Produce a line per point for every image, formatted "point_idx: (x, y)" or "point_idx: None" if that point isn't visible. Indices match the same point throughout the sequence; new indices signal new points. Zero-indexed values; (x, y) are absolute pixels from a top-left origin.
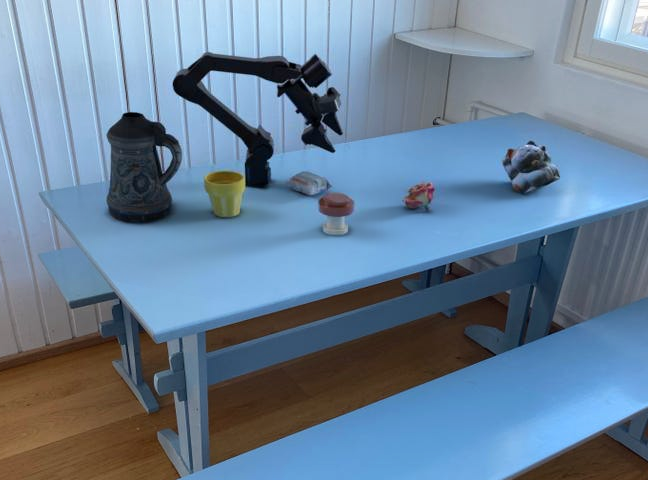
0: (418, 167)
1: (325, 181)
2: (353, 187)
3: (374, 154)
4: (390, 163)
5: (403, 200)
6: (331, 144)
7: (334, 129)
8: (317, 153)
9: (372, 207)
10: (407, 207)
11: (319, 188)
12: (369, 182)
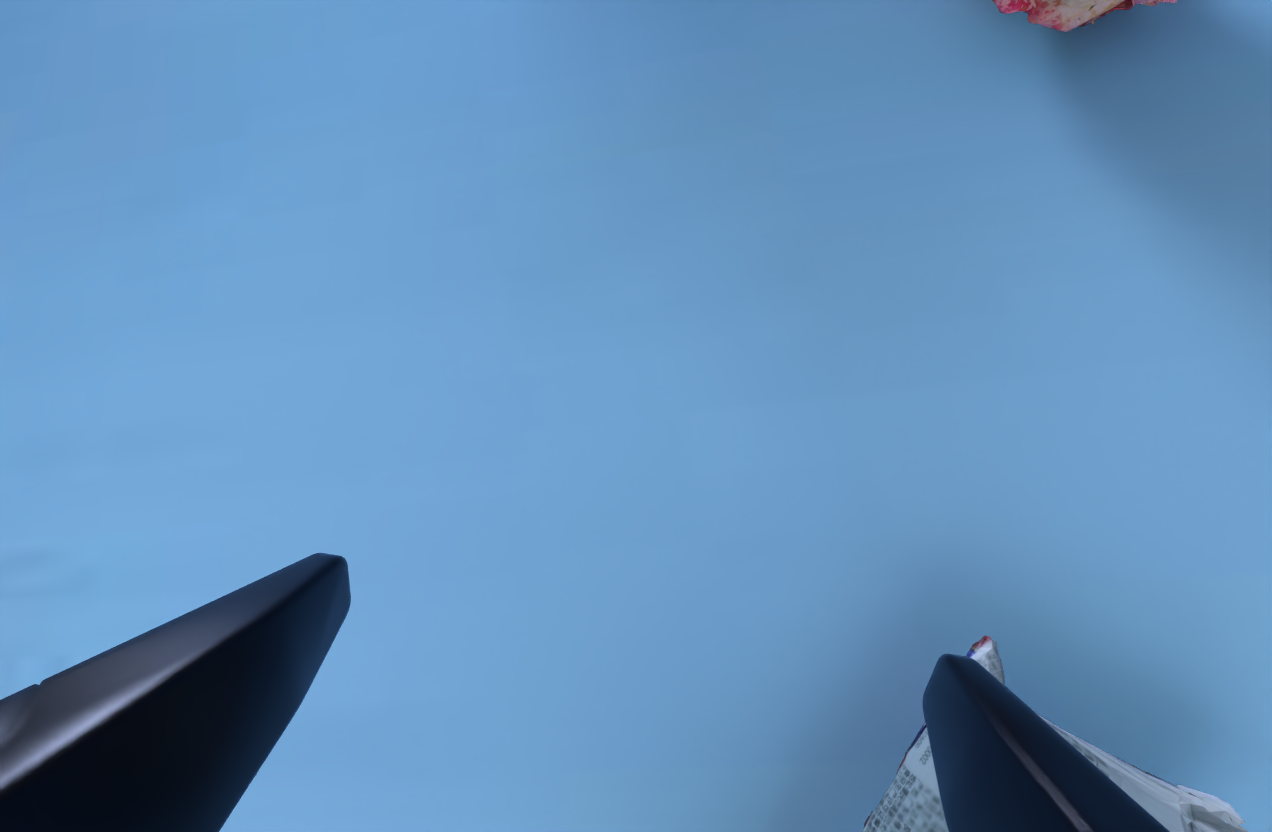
0: (348, 105)
1: None
2: (760, 456)
3: (146, 379)
4: (290, 264)
5: (1106, 9)
6: (1068, 787)
7: (243, 752)
8: None
9: (1168, 258)
10: (1080, 26)
11: (1166, 791)
12: (633, 349)
